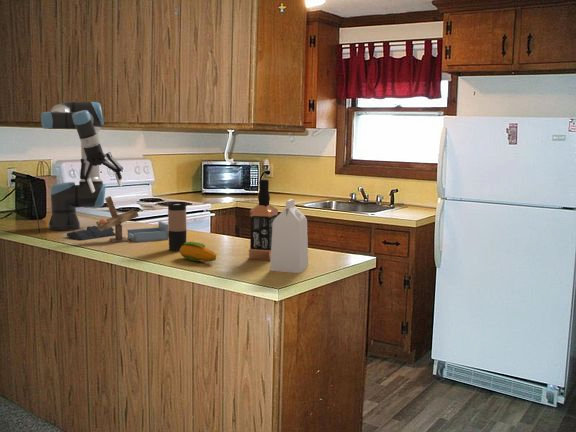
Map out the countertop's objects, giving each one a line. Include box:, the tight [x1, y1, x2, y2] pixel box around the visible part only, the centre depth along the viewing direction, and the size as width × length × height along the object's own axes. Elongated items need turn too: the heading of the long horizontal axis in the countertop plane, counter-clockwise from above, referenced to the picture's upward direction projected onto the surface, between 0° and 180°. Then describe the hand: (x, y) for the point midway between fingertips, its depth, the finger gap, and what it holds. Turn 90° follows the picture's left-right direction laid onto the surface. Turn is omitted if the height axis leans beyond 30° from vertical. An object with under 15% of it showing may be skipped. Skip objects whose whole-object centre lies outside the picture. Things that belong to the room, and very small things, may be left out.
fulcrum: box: [109, 223, 129, 244], centre depth 284 cm, size 7×7×8 cm
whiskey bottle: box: [248, 178, 279, 262], centre depth 249 cm, size 10×10×32 cm
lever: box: [95, 196, 140, 231], centre depth 282 cm, size 18×9×12 cm, turn 118°
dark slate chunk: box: [66, 225, 115, 241], centre depth 296 cm, size 15×22×5 cm
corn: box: [179, 241, 217, 263], centre depth 244 cm, size 7×8×20 cm
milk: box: [269, 198, 309, 274], centre depth 231 cm, size 12×12×26 cm
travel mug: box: [167, 202, 187, 252], centre depth 264 cm, size 8×8×20 cm
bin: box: [127, 220, 169, 243], centre depth 290 cm, size 16×12×7 cm
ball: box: [98, 218, 107, 224], centre depth 280 cm, size 4×4×4 cm
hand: (107, 189), depth 283 cm, fingers open, 13 cm apart
